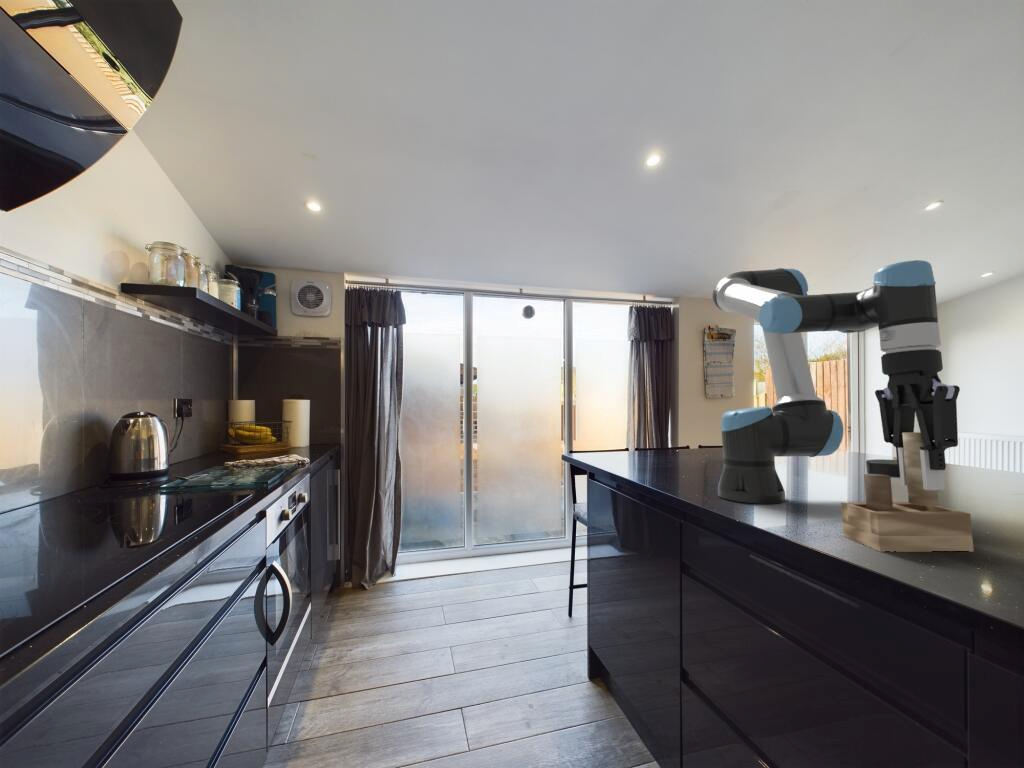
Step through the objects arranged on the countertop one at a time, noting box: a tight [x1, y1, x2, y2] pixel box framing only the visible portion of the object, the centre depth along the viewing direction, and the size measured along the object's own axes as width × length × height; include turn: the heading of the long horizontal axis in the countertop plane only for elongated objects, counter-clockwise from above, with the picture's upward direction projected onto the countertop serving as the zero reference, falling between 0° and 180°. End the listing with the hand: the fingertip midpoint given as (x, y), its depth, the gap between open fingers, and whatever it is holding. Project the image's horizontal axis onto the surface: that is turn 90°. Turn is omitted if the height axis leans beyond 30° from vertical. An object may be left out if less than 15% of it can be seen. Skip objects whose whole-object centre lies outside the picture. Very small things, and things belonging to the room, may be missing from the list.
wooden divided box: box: [840, 501, 975, 553], centre depth 69 cm, size 8×14×6 cm, turn 86°
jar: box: [865, 458, 908, 502], centre depth 81 cm, size 9×8×12 cm
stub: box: [863, 473, 893, 512], centre depth 69 cm, size 3×3×9 cm
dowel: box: [902, 431, 940, 506], centre depth 69 cm, size 4×4×12 cm
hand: (922, 486), depth 69 cm, fingers closed on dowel, 3 cm apart
